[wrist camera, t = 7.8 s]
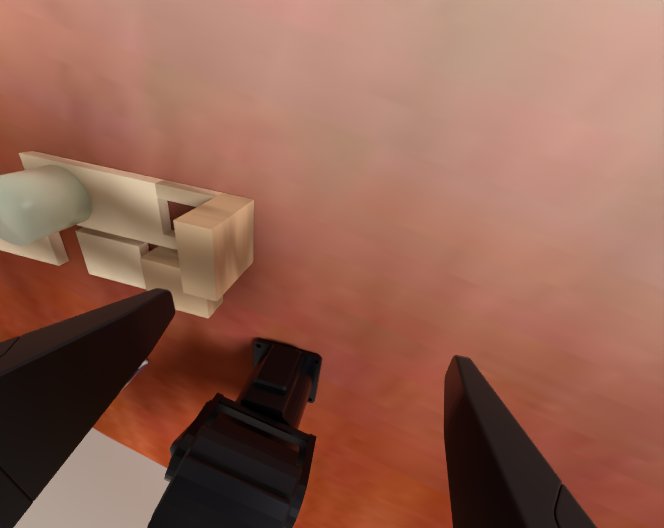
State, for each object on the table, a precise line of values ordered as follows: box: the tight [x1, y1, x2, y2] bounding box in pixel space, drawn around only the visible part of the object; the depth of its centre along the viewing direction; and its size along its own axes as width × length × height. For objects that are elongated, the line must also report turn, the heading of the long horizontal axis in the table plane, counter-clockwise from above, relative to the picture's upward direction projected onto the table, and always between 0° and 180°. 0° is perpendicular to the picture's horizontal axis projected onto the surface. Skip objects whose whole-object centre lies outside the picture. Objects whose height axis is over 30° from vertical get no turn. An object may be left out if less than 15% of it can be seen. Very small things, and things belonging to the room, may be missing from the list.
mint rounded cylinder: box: [0, 165, 92, 246], centre depth 22 cm, size 5×5×4 cm
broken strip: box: [0, 227, 223, 318], centre depth 27 cm, size 4×23×2 cm, turn 82°
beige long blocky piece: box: [19, 151, 254, 302], centre depth 22 cm, size 5×19×6 cm, turn 82°
